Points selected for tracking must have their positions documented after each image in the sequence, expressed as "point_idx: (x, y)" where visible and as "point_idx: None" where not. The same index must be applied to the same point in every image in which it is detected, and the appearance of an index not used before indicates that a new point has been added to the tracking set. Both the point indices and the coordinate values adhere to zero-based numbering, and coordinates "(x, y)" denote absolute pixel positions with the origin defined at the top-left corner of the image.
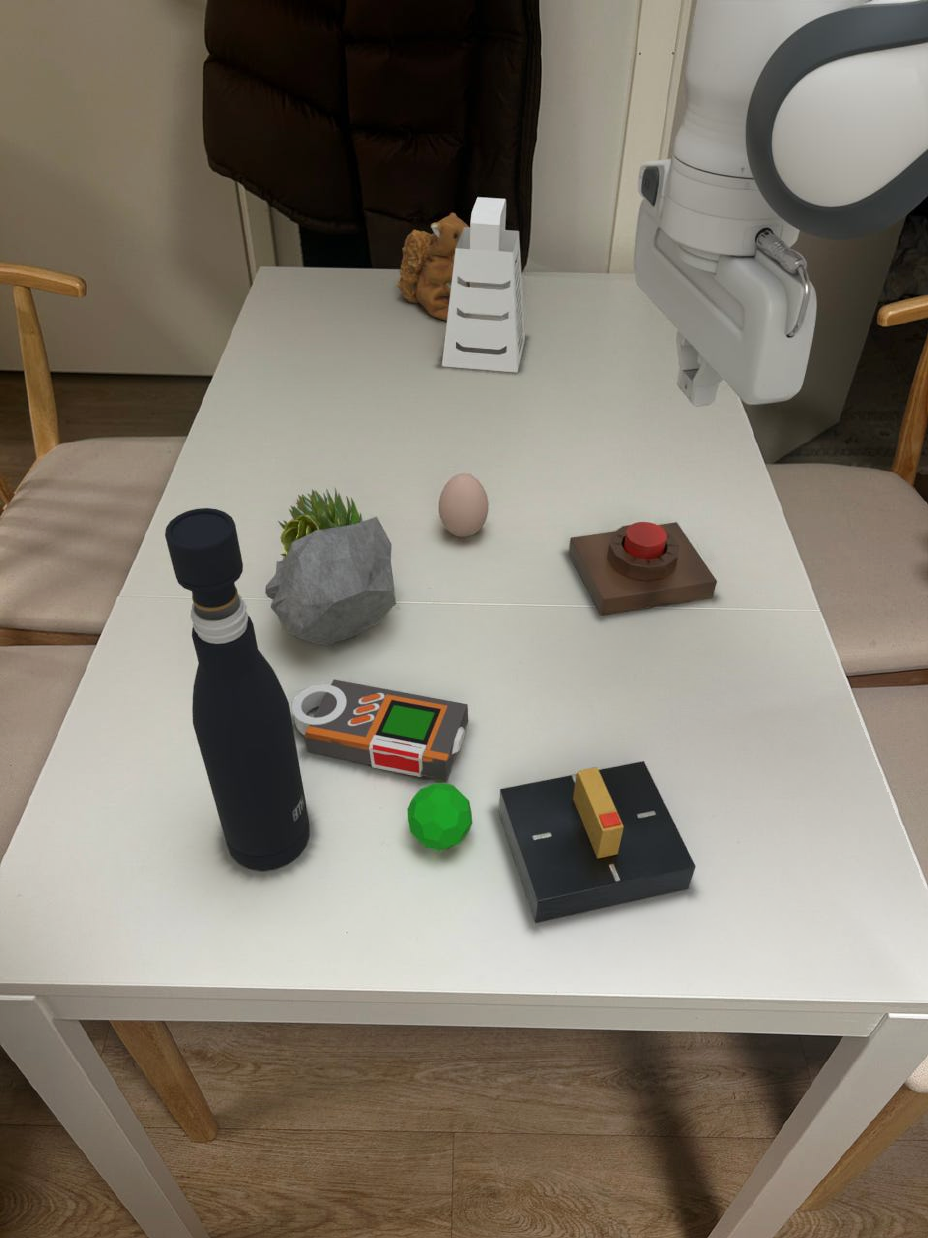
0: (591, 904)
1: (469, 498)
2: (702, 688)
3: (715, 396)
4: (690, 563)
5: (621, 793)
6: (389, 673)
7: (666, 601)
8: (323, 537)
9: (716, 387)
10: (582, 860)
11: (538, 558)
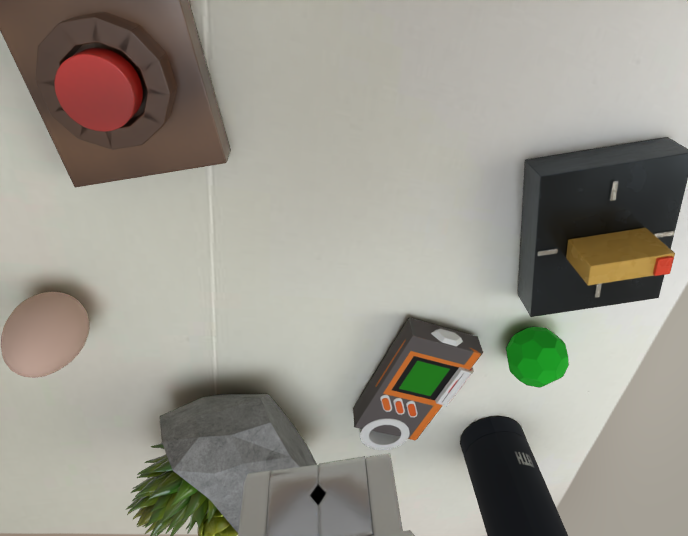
0: None
1: (59, 349)
2: (388, 32)
3: (392, 473)
4: None
5: (576, 209)
6: (326, 372)
7: (199, 44)
8: None
9: (398, 512)
10: None
11: (106, 216)
